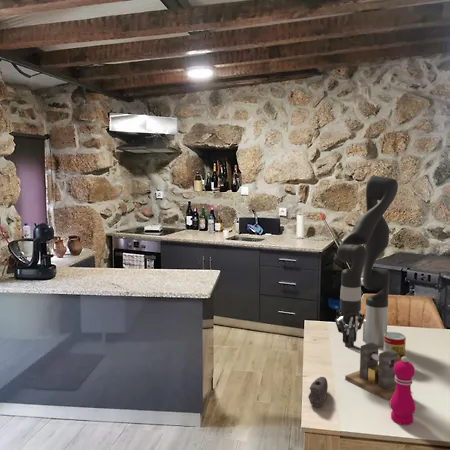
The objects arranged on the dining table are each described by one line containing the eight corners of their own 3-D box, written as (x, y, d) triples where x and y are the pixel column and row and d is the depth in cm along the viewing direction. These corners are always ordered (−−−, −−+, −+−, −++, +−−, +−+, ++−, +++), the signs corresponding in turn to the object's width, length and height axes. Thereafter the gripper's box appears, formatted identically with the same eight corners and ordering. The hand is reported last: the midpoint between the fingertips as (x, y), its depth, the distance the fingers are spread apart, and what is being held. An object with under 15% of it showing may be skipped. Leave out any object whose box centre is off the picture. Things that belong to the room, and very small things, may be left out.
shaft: (343, 348, 171) (343, 327, 170) (348, 346, 173) (349, 326, 172) (386, 366, 155) (387, 344, 154) (392, 364, 156) (393, 342, 155)
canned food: (408, 367, 175) (410, 337, 174) (393, 370, 172) (394, 340, 171) (394, 359, 182) (395, 330, 181) (378, 362, 179) (379, 333, 178)
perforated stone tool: (317, 388, 159) (317, 369, 158) (332, 391, 157) (332, 371, 156) (305, 408, 146) (305, 387, 145) (321, 411, 143) (322, 391, 143)
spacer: (367, 380, 161) (368, 367, 160) (377, 377, 164) (377, 364, 163) (374, 384, 158) (375, 370, 158) (384, 380, 161) (384, 367, 161)
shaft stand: (345, 379, 165) (346, 344, 164) (367, 371, 172) (368, 337, 170) (386, 400, 150) (388, 361, 149) (409, 390, 157) (410, 353, 155)
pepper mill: (385, 413, 142) (387, 352, 140) (407, 412, 143) (410, 351, 140) (395, 426, 135) (398, 362, 132) (419, 425, 135) (422, 361, 133)
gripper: (355, 292, 175) (354, 335, 177) (329, 298, 167) (328, 343, 170) (371, 296, 169) (370, 341, 171) (345, 303, 161) (343, 349, 163)
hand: (349, 342), depth 170 cm, fingers closed on shaft, 3 cm apart
